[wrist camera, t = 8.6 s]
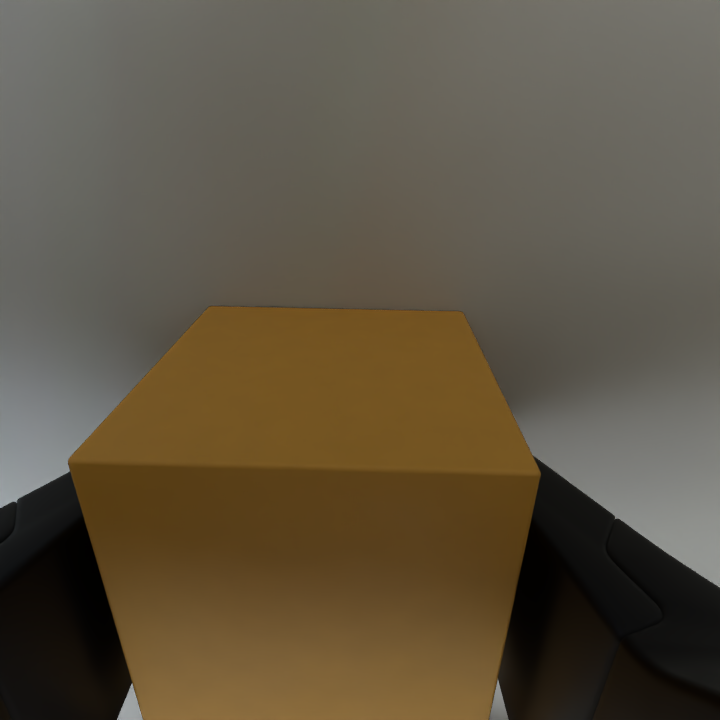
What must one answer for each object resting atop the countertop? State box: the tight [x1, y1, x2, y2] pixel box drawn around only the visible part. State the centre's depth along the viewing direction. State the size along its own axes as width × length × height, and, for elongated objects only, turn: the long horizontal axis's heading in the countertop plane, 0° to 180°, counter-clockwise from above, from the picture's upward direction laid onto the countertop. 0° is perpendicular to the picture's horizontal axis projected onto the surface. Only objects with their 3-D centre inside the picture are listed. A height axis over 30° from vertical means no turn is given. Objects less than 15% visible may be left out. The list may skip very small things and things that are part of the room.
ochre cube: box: [68, 306, 541, 720], centre depth 8 cm, size 5×5×5 cm
